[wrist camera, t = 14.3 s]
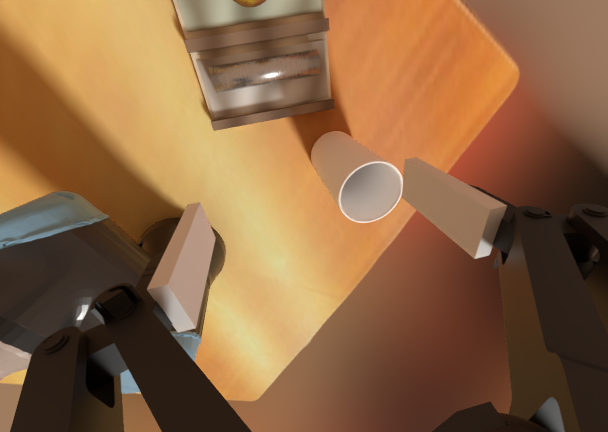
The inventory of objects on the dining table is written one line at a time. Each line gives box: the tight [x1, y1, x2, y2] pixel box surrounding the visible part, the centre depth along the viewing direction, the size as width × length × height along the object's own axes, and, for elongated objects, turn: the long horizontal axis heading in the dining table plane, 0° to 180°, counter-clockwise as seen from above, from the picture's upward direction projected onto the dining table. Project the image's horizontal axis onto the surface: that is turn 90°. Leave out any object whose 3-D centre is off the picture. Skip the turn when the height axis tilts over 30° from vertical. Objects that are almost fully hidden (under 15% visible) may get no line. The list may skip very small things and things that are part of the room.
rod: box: [208, 49, 320, 93], centre depth 32 cm, size 14×3×3 cm
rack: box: [173, 0, 335, 131], centre depth 31 cm, size 18×20×3 cm
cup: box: [311, 131, 403, 223], centre depth 36 cm, size 8×8×16 cm
